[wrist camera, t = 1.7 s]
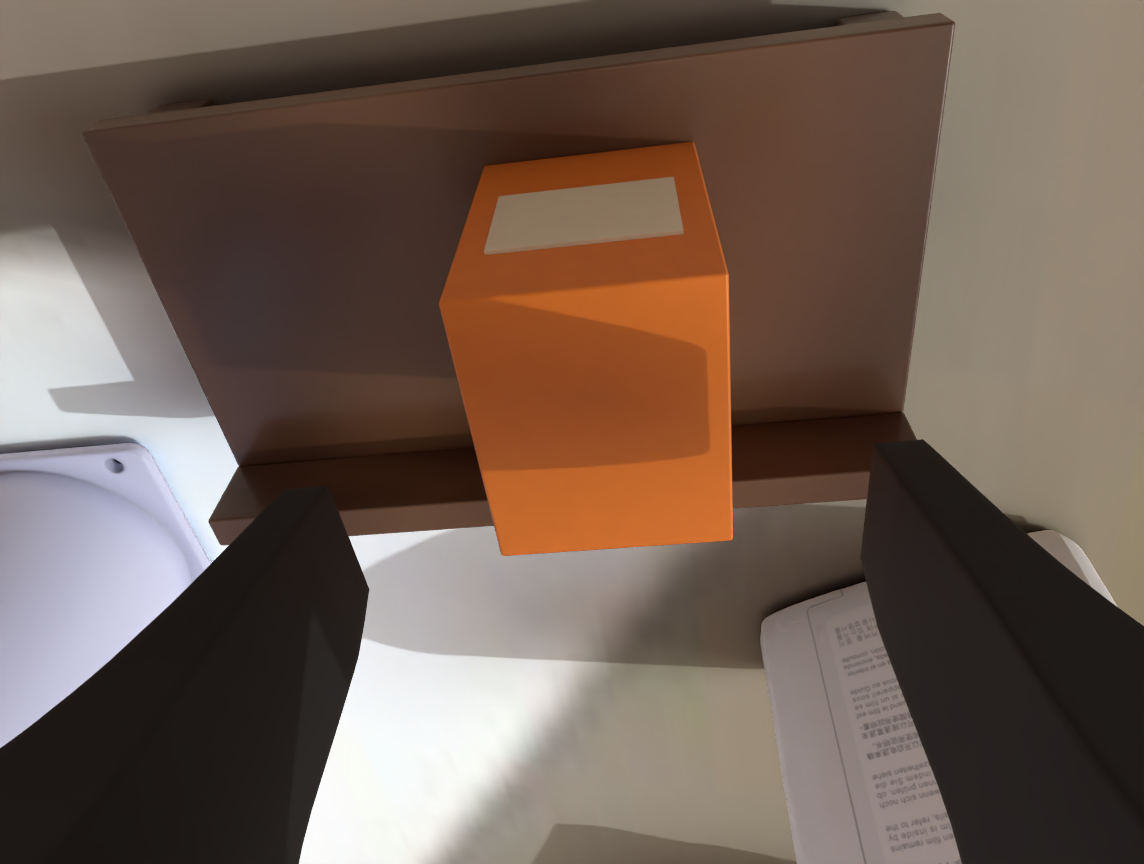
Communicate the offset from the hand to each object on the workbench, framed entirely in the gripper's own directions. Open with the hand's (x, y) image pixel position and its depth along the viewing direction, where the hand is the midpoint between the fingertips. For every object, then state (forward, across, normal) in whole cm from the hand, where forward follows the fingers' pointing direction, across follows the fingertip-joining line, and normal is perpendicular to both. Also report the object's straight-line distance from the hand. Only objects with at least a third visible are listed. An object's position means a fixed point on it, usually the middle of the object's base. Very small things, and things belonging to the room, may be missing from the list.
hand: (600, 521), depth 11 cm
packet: (+8, 0, 0) cm, 8 cm away
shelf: (+10, +2, 0) cm, 10 cm away
